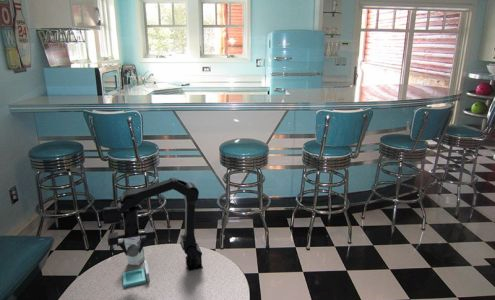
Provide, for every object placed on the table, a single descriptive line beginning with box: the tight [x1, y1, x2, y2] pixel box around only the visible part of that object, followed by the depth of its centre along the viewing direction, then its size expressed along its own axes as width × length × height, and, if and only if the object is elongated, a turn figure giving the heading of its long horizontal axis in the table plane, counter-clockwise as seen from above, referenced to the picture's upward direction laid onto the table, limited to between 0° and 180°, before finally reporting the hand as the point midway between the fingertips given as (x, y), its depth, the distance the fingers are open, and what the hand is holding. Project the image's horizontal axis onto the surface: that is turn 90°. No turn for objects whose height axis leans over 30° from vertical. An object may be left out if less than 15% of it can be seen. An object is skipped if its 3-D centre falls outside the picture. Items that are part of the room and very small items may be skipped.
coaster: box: [122, 267, 147, 288], centre depth 150 cm, size 9×9×1 cm
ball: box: [127, 245, 139, 257], centre depth 147 cm, size 5×5×5 cm
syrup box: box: [124, 230, 146, 266], centre depth 161 cm, size 6×6×14 cm
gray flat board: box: [143, 259, 151, 283], centre depth 153 cm, size 1×11×4 cm, turn 20°
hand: (133, 254), depth 147 cm, fingers closed on ball, 5 cm apart
